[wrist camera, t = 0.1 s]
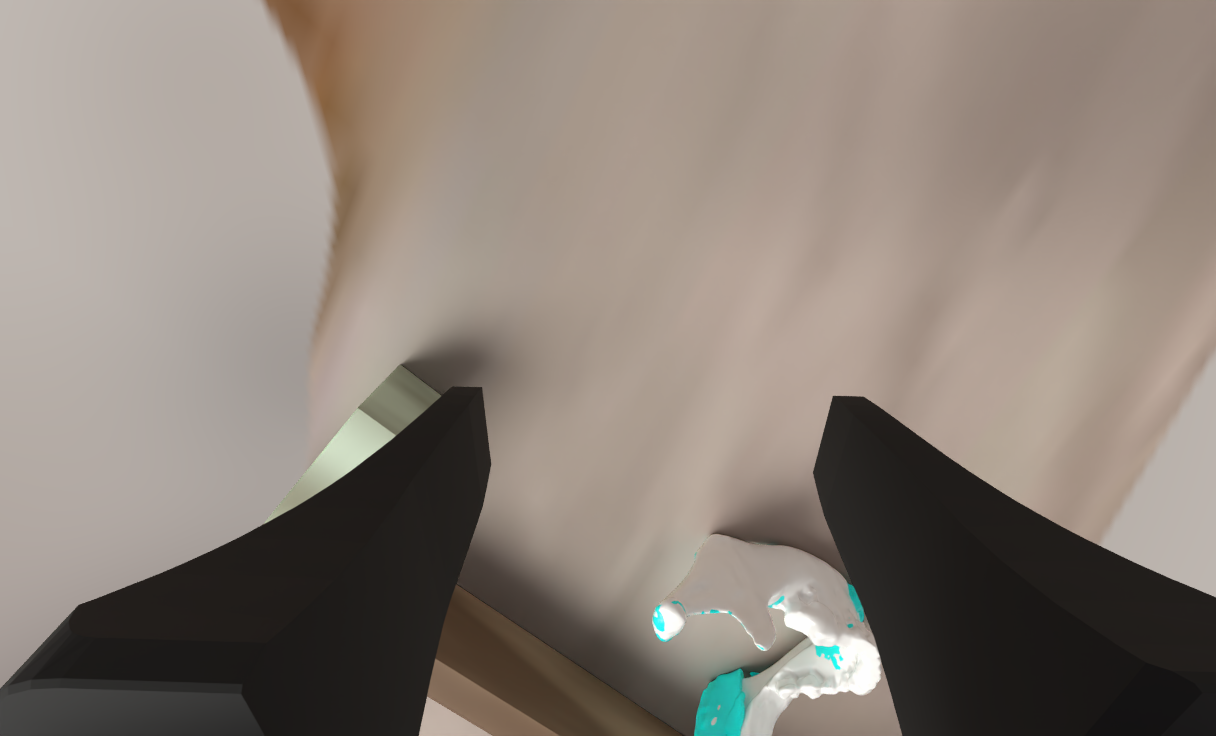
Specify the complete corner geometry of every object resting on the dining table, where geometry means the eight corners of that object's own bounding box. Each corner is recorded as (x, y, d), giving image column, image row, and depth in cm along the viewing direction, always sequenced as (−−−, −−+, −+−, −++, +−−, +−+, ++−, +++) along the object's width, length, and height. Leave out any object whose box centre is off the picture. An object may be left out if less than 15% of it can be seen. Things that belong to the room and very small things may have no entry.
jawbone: (877, 695, 28) (870, 915, 21) (720, 653, 32) (666, 830, 24) (890, 495, 24) (887, 686, 16) (705, 471, 27) (631, 621, 20)
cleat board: (724, 797, 32) (738, 883, 29) (280, 510, 26) (223, 573, 22) (858, 710, 30) (892, 792, 26) (400, 364, 23) (357, 407, 19)
